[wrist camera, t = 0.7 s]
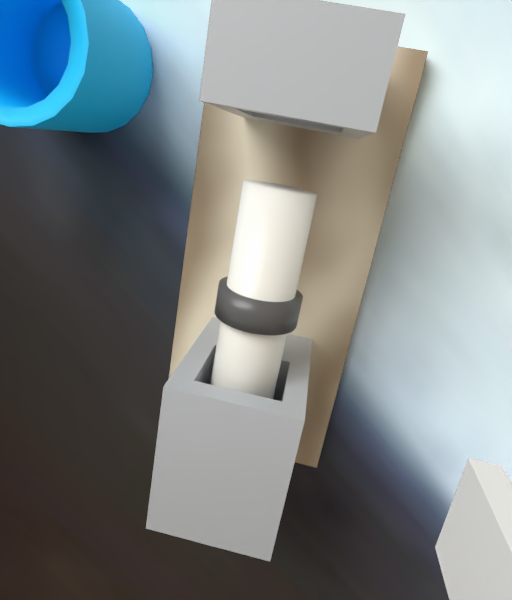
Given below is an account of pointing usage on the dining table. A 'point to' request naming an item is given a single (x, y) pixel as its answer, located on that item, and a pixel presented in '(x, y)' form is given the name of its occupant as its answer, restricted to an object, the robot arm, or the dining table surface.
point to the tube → (261, 286)
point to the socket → (300, 63)
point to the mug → (72, 64)
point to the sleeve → (227, 451)
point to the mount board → (323, 231)
